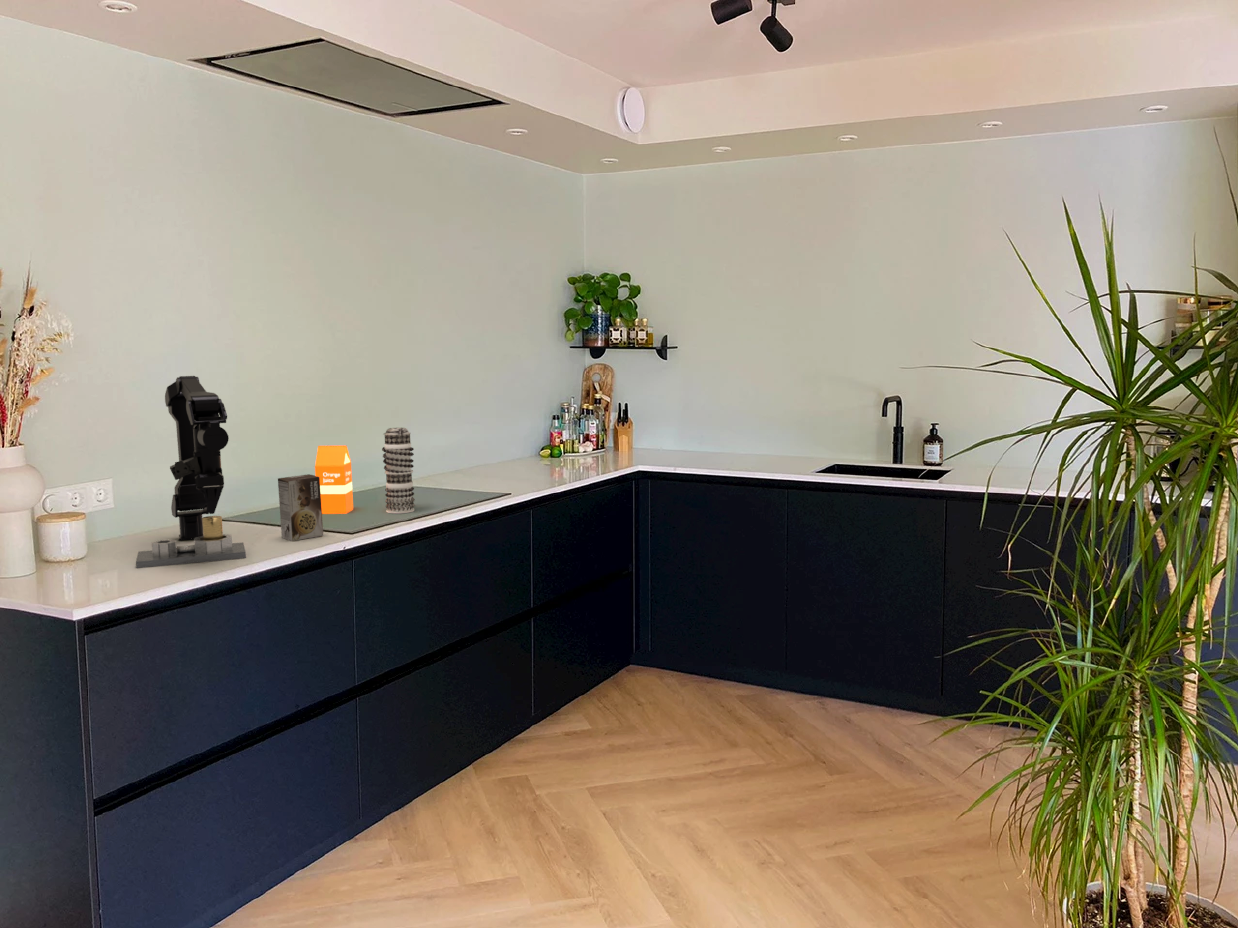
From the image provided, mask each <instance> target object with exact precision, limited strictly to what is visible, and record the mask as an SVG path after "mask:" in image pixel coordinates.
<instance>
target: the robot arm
mask: <svg viewBox="0 0 1238 928" xmlns="http://www.w3.org/2000/svg"><path fill="white" fill-rule="evenodd" d="M164 403H165V407H167V408H168V409H167V410H168V414H169V415H170V416H171V417H172V419H173V420H174V422H175V425H176V428H175V429H176V438H177V440H176V441H177V452H178V453H177V454H178V461H176V462H174V464H172V465H170V466H169V469H170V472H171V474H172V475H173V478H174V480H175V481H177V480H178V481H177V483H176V484H175V486H174V494H173V495H172V500H171V507H170V508H171V509H170V510H171V515H172V516H173V518H178V521H179V534H178V541H188V540H195V538H196V537H200V536H203V521H202V518H203V515H214V514H215V512H216V510H217V507H218V503H219V501H220V497H221V495H222V493H223V490H224V487H225V479H224V474H223V469H222V460H221V459H222V458H221V450H223V449H224V448H225V447H226V446H227V445H228V443H229V440H230V439H229V435H228V432H227V431H226V429H224V428H223V427H221V425H220V424H226V423H227V420H228V415H227V410H226V407H225V404H224V403H223V401H222V399H221V398H220V397H219V395H217V394H216V393H215V392H210V391H207V390H206V389H205V388H204V386H203V385H202V384H201V382H200V378H199V376H195V375H182V376H181V375H180V376H178V377H176V379H175V381H173V383H171V384H169V385H168V386H167V387H166V390H165V395H164Z"/></svg>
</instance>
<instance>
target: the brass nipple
mask: <svg viewBox="0 0 1238 928" xmlns="http://www.w3.org/2000/svg"><path fill="white" fill-rule="evenodd" d="M222 518H223V517H222V516H221V515H207V516H204V517H203V516H202V521H203V536H204V540H219V539H223V534H224V532H223V531H224V530H223V519H222Z"/></svg>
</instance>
